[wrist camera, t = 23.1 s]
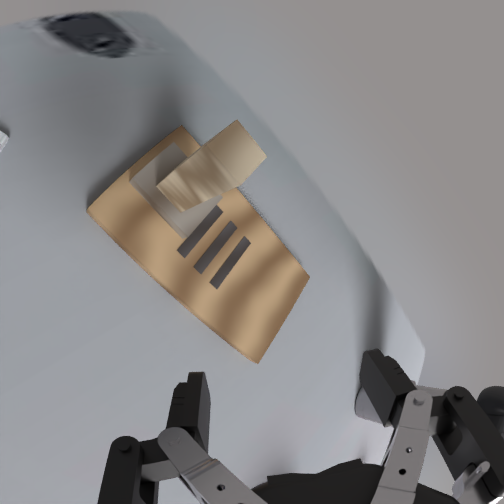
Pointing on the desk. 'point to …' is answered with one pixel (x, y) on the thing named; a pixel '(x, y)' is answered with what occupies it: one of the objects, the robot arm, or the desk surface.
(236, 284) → the board
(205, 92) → the desk surface
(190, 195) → the block
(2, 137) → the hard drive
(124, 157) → the desk surface
